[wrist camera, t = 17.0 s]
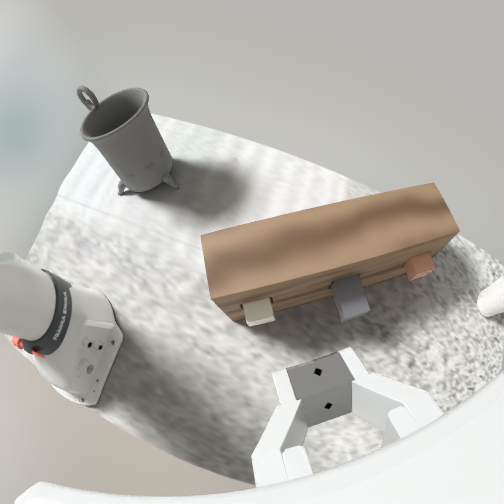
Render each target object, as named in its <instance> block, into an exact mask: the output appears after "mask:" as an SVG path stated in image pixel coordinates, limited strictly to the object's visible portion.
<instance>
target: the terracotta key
mask: <svg viewBox="0 0 504 504" xmlns="http://www.w3.org/2000/svg"><path fill="white" fill-rule="evenodd" d="M403 266H404V268H405V271H406V274H407V276H408V279H409V281H411V280H414V279H417V278H420V277H422V276H425V275H428V274H429V273H430V272H431V271H432V270H434V269H435V268H436V267H435V265H434V262H433V260H432V257H431V255H430V252H427V253H424V254H421V255H418V256H415V257H412V258H410V259H409V260H408V261H407V262H406V263H405V264H404V265H403Z"/></svg>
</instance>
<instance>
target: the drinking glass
mask: <svg viewBox="0 0 504 504" xmlns="http://www.w3.org/2000/svg"><path fill="white" fill-rule="evenodd" d="M477 306H478V310H479V312H480V313H481V314H482V315H483V316H485V317H491V316H493V315H496V314H499V313H503V312H504V275H502V276H501V277H500V278H499V279H497V280H496V281H495V282H494V283H492V284H491V285H490V286H488V287H487V288H485V289H483V290H482V291H481V292H480V293H479V295H478V298H477Z"/></svg>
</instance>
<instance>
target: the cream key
mask: <svg viewBox="0 0 504 504" xmlns="http://www.w3.org/2000/svg"><path fill="white" fill-rule="evenodd" d="M242 305H243V309H244V314H245V318H246V323H247V324H248V326H249V327H250V326H254V325H259V324H263V323H267V322H271V321H275V318H274V314H273V310H272V306H271V302H270V298H266V299H262V300H258V301H254V302H249V303H245V304H242Z"/></svg>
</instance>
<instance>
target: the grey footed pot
mask: <svg viewBox="0 0 504 504" xmlns="http://www.w3.org/2000/svg"><path fill="white" fill-rule="evenodd" d="M82 91H83V92H85V93H86V94H87V95H88V96H89V97H90V99H91V100H92V102H93V103H92V102H91V101H90V100H86V99H85V97H84V96H83V94H82ZM77 95H78V97H79V99H80V100H81V101H82V103H83V104H84V105H85V106H86V107H87V108H88V109H89V110H90V112H89V113H88V115H87V116H86V117H85V119H84V121H83V122H82V125H81V128H80V134H81V136H82V138H83V139H84V140H86V141H90V142H91V143H93V144H94V145H95V146H96V147H97V148H98V150H99V151H100V152H101V154H102V155H103V156H104V158H105V159H106V160H107V162H108V163H109V164H110V166H111V167H112V168H113V170H114V171H115V172H116V174H117V175H118V176H119V178H120V179H121V181H120V182H119V185H118V189H119V192H118V195H121V194H122V193H123V192H124V189H125V187H127V188H128V189H129V190H131V191H134V192H143V191H147V190H150V189H152V188H154V187H156V186H157V185H159V184H160V183H161V182H165V183H167V184H169V185H170V186H172V187H173V188H175V189H179V186H178V185H177V184H176V182H175V180H174V179H173V177H172V176H171V175H170V174H169V173H170V171H171V169H172V165H173V160H172V157H171V155H170V153H169V151H168V149H167V147H166V145H165V143H164V141H163V139H162V137H161V134H160V132H159V130H158V128H157V126H156V124H155V122H154V120H153V118H152V116H151V114H150V111H149V108H148V100H149V95H148V93H147V91H145V90H144V89H141V88H129V89H125V90H122V91H119V92H117V93H115V94H113V95H111V96H109V97H107V98H106V99H104V100H103V101H102V102H100V103H98V100H97V98H96V96H95V95H94V94H93V93H92V92H91V91H90V90H89V89H88V88H87V87H84V86H79V87H78V88H77Z"/></svg>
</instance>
